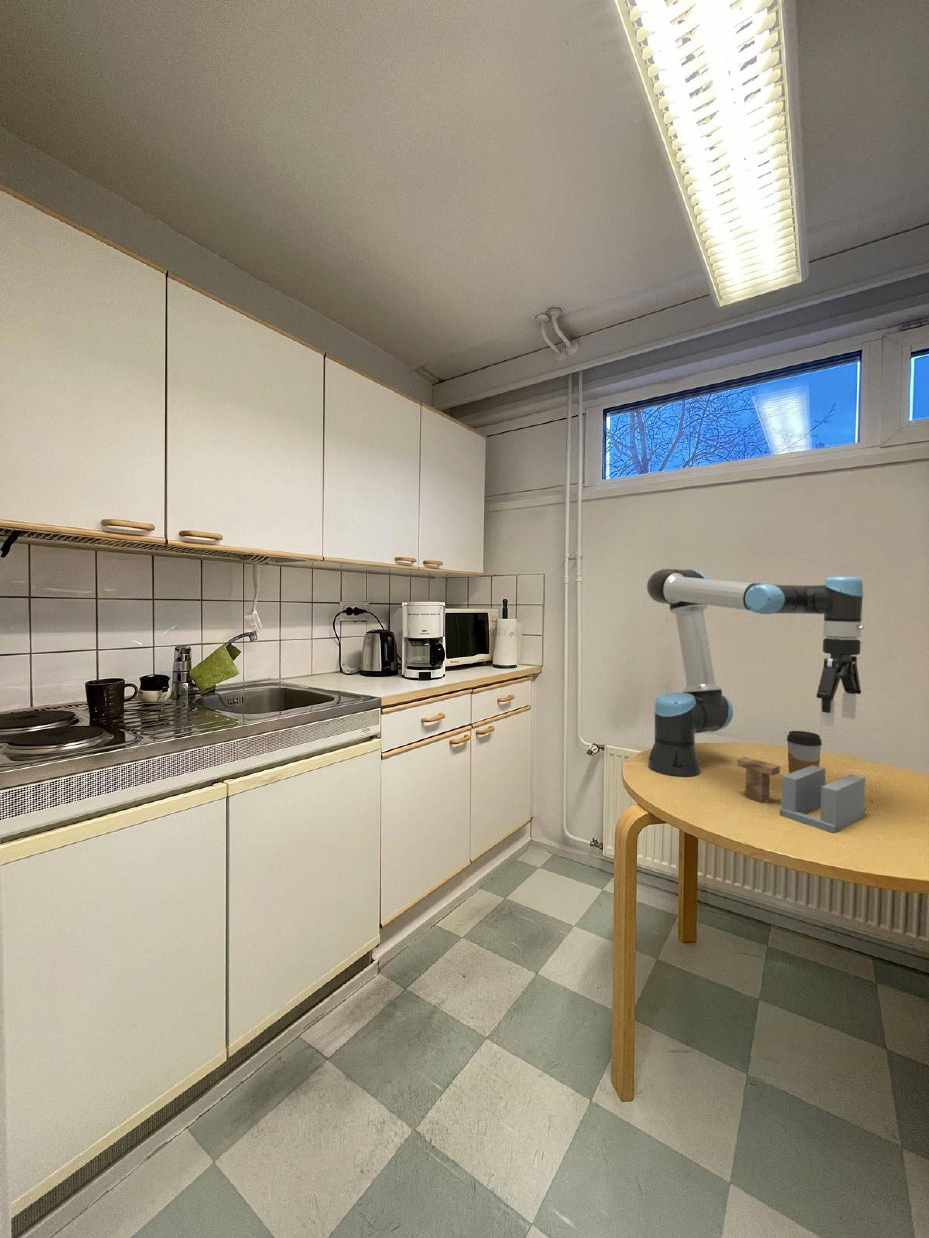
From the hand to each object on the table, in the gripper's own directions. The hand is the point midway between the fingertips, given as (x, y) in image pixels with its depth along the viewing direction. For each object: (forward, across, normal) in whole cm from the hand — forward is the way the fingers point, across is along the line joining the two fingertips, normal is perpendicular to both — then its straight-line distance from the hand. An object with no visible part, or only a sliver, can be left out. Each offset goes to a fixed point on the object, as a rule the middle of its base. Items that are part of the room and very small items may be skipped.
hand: (838, 721), depth 126 cm
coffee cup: (+23, +11, +11) cm, 27 cm away
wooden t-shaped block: (+22, -10, +14) cm, 28 cm away
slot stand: (+22, -8, 0) cm, 24 cm away
